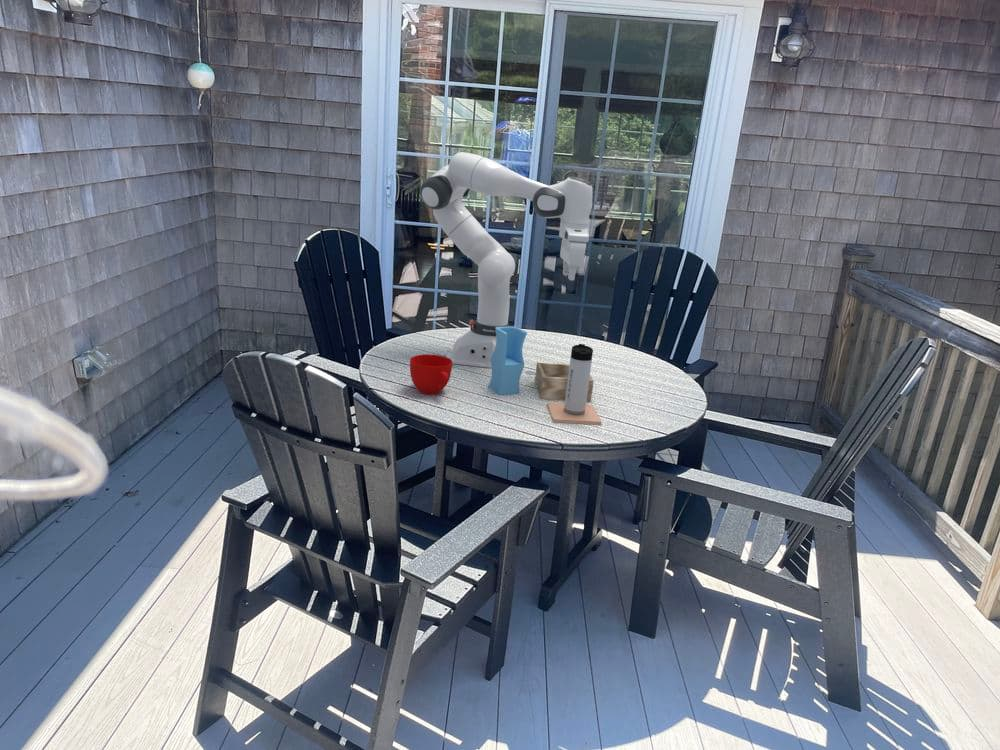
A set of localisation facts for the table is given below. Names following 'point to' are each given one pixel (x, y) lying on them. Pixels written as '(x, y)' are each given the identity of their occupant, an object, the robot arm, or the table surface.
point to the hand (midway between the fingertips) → (568, 277)
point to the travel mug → (578, 379)
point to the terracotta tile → (563, 417)
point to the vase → (507, 360)
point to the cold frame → (555, 381)
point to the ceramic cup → (430, 372)
